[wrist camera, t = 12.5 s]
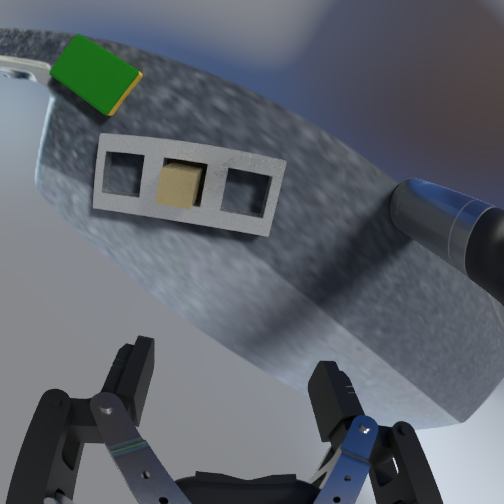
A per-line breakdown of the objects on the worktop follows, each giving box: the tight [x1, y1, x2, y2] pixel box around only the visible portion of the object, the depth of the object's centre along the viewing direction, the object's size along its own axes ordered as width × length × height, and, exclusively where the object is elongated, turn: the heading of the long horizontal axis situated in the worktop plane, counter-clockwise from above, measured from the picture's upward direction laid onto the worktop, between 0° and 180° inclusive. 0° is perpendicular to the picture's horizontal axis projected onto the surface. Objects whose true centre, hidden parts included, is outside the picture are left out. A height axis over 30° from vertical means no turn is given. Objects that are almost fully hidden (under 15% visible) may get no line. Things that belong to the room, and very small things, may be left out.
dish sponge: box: [50, 34, 142, 116], centre depth 26 cm, size 7×14×2 cm, turn 49°
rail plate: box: [93, 133, 287, 237], centre depth 33 cm, size 24×10×2 cm, turn 78°
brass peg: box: [156, 163, 203, 210], centre depth 31 cm, size 4×4×7 cm
